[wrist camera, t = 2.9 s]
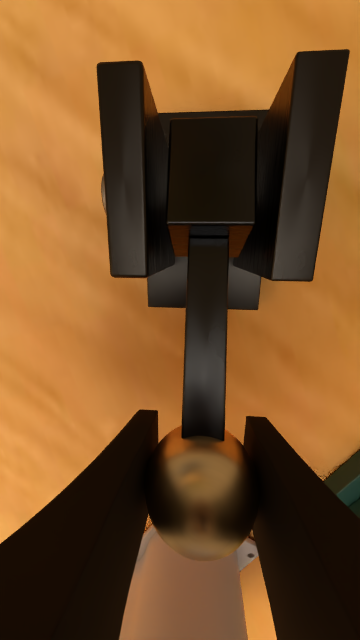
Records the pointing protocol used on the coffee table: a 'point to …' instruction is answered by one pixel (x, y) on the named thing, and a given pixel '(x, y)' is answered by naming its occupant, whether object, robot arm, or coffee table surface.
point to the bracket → (272, 178)
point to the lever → (206, 341)
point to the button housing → (347, 483)
